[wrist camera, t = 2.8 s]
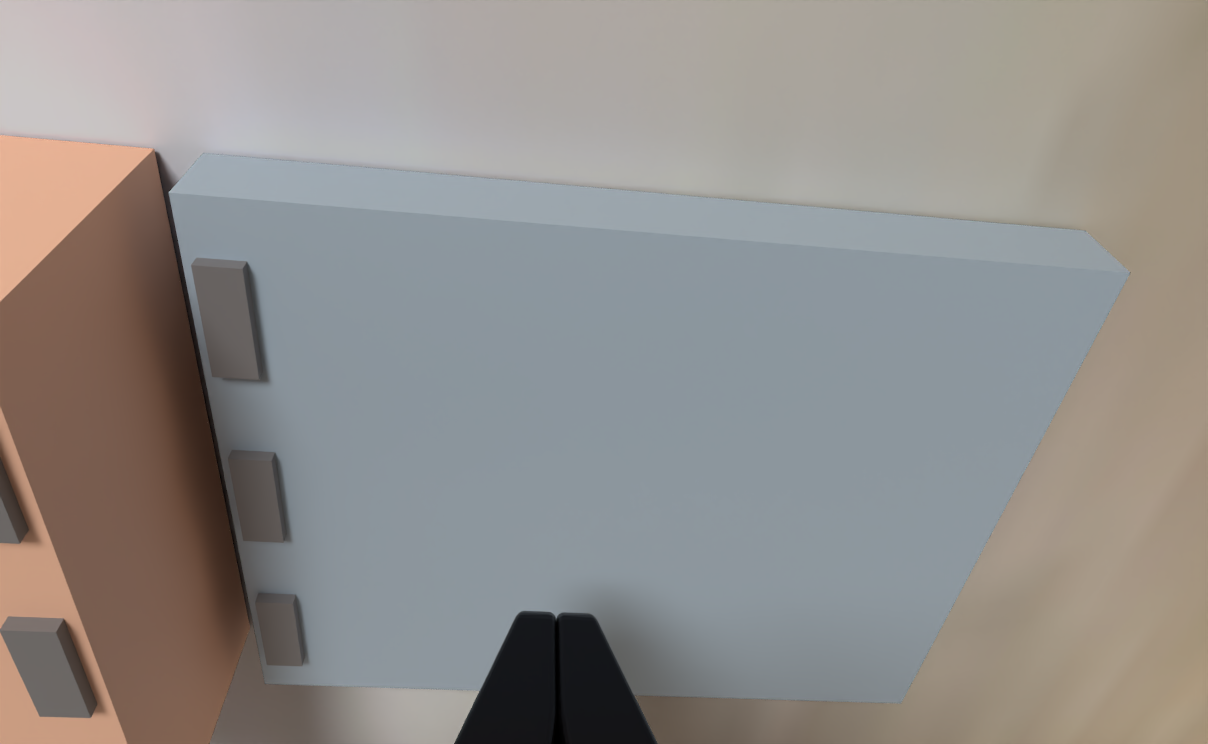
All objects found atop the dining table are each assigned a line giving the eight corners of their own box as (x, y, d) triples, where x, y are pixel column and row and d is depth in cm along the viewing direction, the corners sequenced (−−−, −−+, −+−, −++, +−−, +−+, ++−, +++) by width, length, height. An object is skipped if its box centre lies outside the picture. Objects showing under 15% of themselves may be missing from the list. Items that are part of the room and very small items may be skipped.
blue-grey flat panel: (1085, 230, 10) (1137, 279, 9) (882, 651, 15) (904, 712, 14) (202, 153, 9) (162, 199, 8) (281, 629, 14) (261, 693, 13)
